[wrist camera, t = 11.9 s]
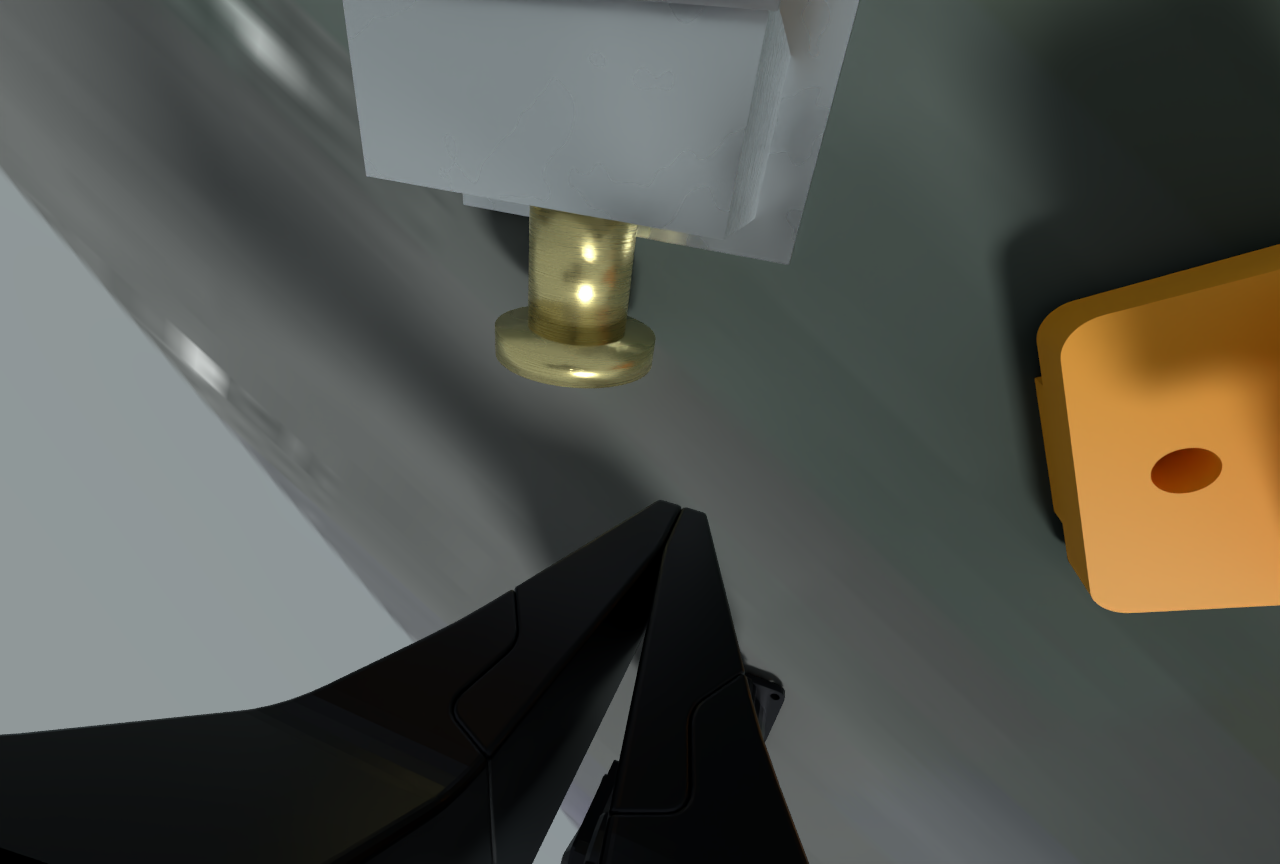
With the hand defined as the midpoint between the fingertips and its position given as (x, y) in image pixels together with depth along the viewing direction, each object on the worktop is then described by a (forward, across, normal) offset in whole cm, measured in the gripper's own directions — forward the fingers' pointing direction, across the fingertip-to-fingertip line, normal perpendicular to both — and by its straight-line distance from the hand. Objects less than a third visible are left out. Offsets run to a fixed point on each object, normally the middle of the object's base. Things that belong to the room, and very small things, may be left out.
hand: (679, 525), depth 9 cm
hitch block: (+12, +6, -8) cm, 16 cm away
